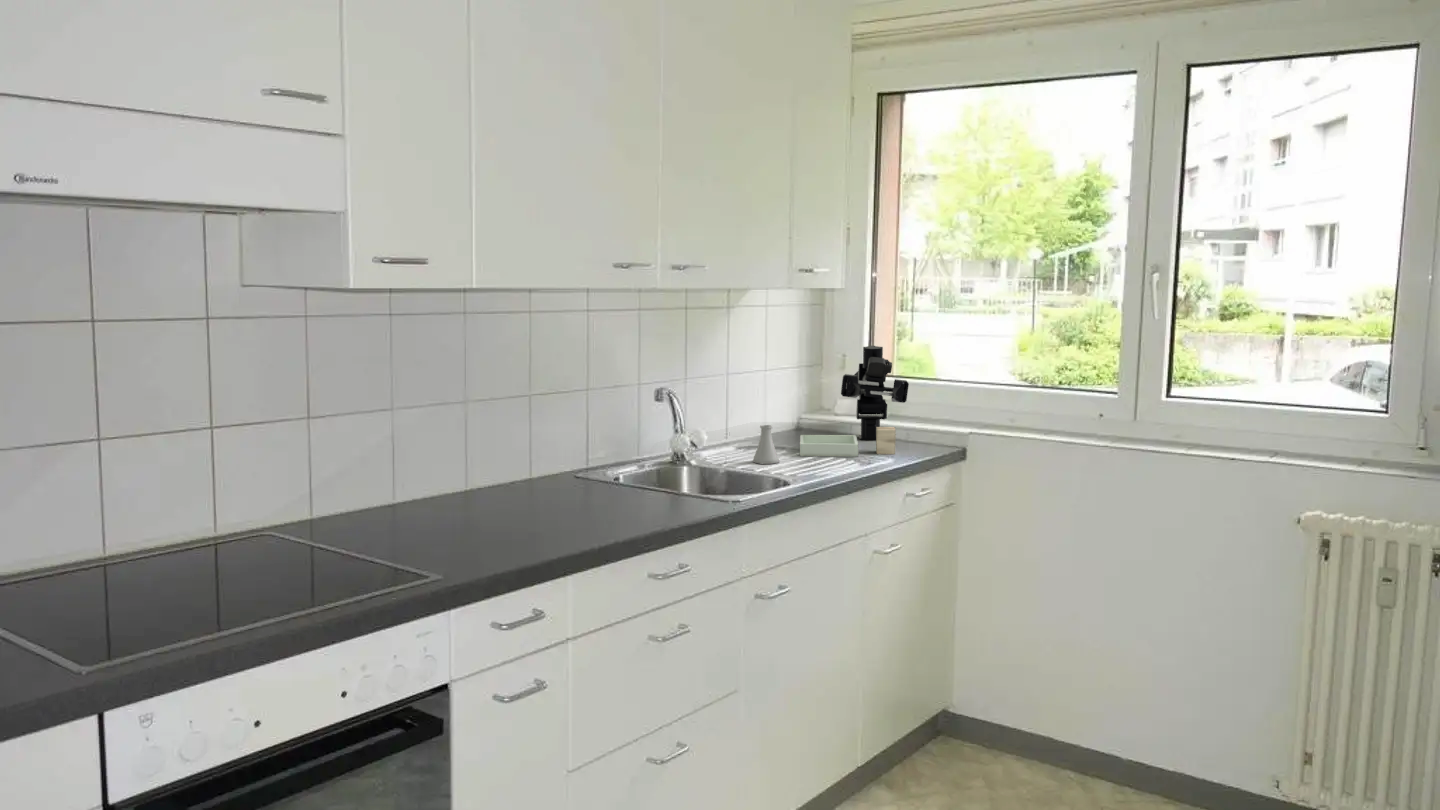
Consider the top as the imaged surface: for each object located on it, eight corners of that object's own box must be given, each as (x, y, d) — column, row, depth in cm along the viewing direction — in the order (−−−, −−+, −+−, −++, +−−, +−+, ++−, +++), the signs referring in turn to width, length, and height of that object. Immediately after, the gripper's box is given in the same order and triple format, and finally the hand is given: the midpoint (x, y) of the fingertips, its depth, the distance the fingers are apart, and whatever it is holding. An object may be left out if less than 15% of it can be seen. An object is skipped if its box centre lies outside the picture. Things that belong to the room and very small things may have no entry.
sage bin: (800, 446, 327) (800, 434, 327) (855, 447, 326) (855, 435, 326) (800, 456, 312) (800, 444, 311) (858, 456, 310) (858, 444, 310)
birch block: (876, 451, 319) (876, 426, 318) (893, 451, 319) (894, 426, 318) (877, 454, 314) (877, 429, 313) (895, 454, 314) (895, 429, 313)
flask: (748, 461, 305) (748, 425, 304) (772, 459, 308) (771, 423, 307) (760, 465, 299) (760, 428, 297) (784, 463, 302) (784, 426, 300)
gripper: (844, 352, 327) (846, 362, 312) (908, 359, 326) (913, 369, 311) (839, 390, 330) (841, 401, 314) (903, 396, 329) (908, 408, 313)
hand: (876, 394), depth 313 cm, fingers open, 9 cm apart
